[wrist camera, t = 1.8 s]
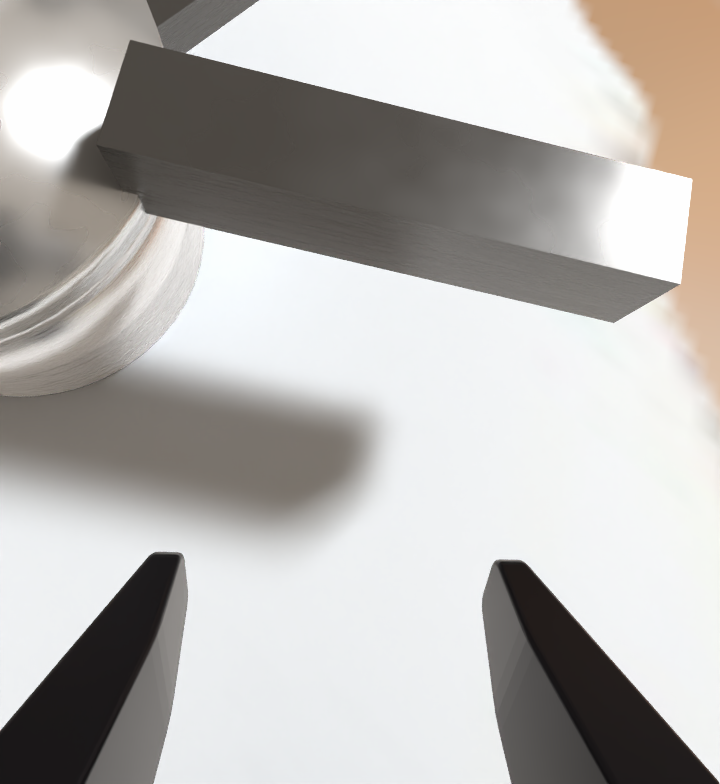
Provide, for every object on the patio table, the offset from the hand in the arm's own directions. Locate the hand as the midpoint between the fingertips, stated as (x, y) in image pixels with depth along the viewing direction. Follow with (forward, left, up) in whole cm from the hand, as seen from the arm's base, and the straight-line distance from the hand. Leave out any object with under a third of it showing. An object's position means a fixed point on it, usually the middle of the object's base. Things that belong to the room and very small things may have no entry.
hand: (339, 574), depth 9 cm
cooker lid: (+7, +8, -6) cm, 12 cm away
